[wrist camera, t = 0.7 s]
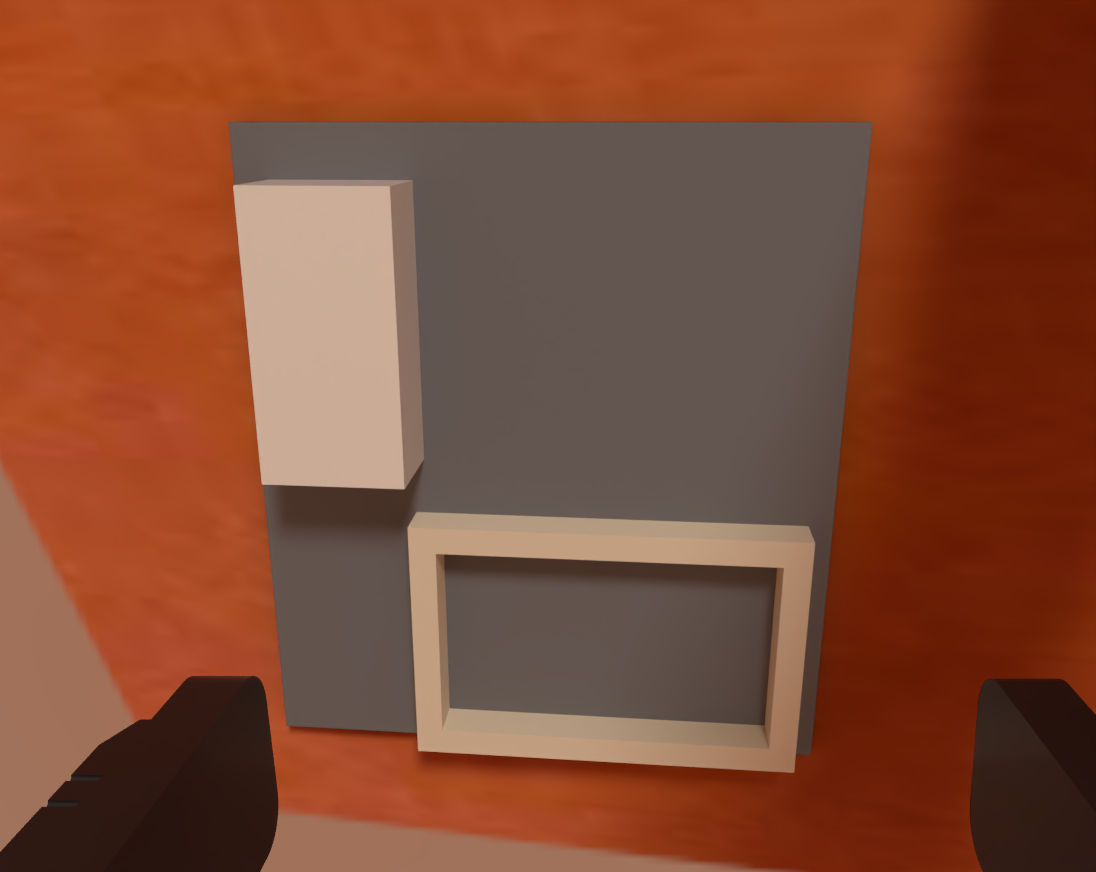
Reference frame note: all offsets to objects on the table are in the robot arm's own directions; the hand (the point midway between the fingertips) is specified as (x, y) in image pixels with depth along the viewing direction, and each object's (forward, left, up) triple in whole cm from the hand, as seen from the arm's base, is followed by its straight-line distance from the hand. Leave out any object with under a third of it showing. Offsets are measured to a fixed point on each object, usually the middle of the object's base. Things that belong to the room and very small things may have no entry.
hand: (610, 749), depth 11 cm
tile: (-1, -8, -18) cm, 19 cm away
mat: (+3, -3, -18) cm, 19 cm away
